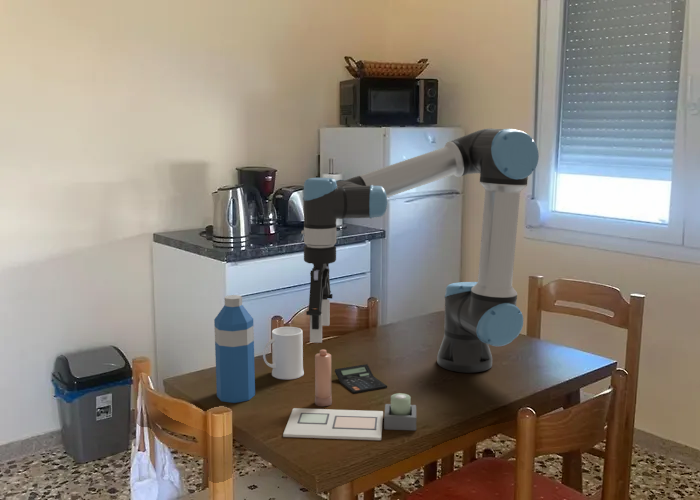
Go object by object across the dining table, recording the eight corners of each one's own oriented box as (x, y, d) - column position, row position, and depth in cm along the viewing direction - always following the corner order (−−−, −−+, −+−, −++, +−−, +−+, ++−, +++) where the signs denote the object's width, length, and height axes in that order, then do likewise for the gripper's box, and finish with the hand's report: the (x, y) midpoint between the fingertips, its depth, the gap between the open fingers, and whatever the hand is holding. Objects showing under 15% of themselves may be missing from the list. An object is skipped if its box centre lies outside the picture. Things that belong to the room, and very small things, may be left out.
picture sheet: (383, 413, 166) (383, 410, 166) (381, 440, 152) (381, 437, 152) (293, 410, 167) (293, 407, 167) (283, 436, 154) (283, 433, 153)
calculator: (353, 394, 178) (353, 383, 177) (334, 379, 188) (334, 368, 188) (386, 388, 182) (387, 377, 181) (366, 374, 192) (366, 363, 192)
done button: (410, 410, 162) (410, 393, 161) (410, 418, 158) (410, 400, 157) (390, 409, 162) (391, 392, 162) (390, 417, 158) (390, 400, 157)
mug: (270, 384, 184) (269, 339, 181) (255, 374, 191) (254, 331, 188) (309, 375, 190) (309, 332, 188) (294, 366, 197) (293, 324, 195)
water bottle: (218, 389, 181) (215, 292, 176) (255, 388, 181) (253, 292, 177) (214, 403, 171) (211, 302, 167) (254, 402, 172) (251, 301, 168)
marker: (332, 400, 174) (332, 348, 171) (330, 406, 170) (330, 353, 167) (316, 399, 174) (315, 347, 171) (314, 406, 170) (313, 353, 168)
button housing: (415, 417, 164) (416, 404, 163) (416, 430, 157) (416, 417, 156) (385, 416, 164) (385, 403, 164) (384, 429, 157) (384, 416, 157)
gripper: (311, 236, 178) (312, 318, 182) (294, 254, 154) (295, 349, 158) (341, 236, 178) (341, 319, 181) (329, 255, 153) (329, 350, 157)
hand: (320, 333), depth 170 cm, fingers open, 13 cm apart
